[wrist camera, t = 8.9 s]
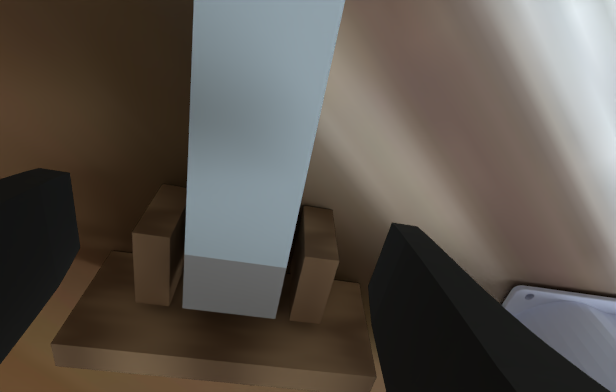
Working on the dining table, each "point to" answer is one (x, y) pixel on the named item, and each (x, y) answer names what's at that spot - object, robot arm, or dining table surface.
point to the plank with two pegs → (220, 315)
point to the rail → (251, 144)
